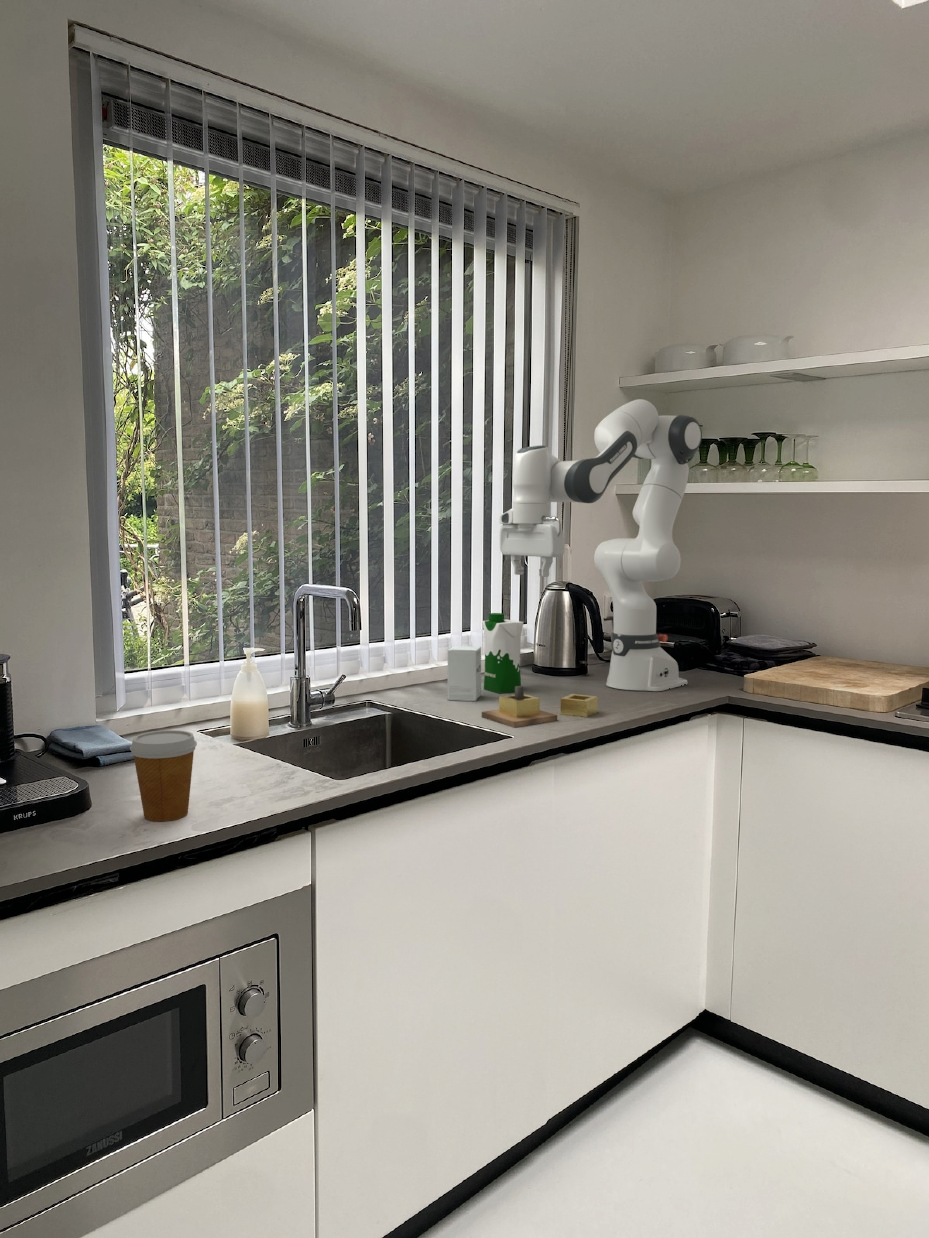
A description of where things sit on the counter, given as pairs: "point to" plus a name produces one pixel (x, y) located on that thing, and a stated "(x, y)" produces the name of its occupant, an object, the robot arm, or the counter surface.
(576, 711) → the link
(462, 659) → the supplement box
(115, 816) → the counter surface
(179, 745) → the disposable coffee cup
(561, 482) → the robot arm
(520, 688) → the stand
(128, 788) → the counter surface
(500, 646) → the milk carton
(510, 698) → the link
